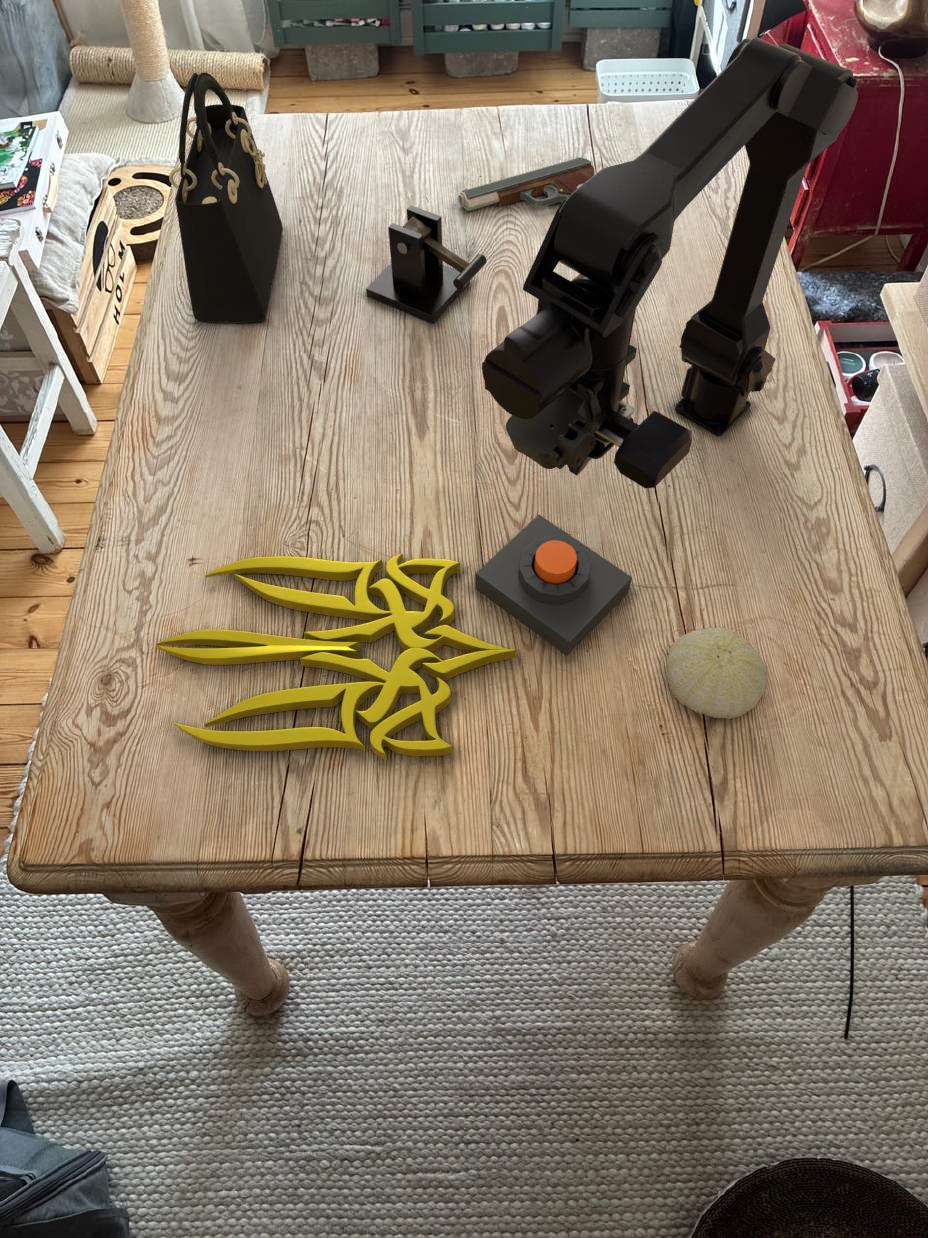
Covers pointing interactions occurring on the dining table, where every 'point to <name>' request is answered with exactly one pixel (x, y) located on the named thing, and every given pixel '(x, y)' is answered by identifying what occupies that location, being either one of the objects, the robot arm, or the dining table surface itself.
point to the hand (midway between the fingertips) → (576, 471)
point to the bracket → (416, 272)
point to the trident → (344, 655)
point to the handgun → (531, 186)
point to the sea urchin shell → (716, 672)
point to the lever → (448, 255)
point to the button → (555, 562)
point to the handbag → (225, 211)
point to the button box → (552, 587)
